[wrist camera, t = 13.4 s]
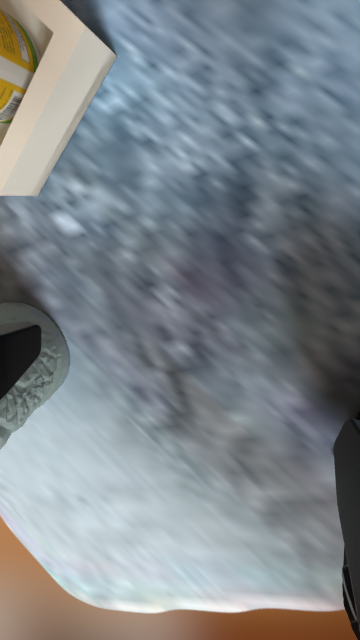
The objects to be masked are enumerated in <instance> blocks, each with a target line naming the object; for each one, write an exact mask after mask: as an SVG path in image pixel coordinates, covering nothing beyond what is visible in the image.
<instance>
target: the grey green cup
mask: <svg viewBox="0 0 360 640" xmlns="http://www.w3.org/2000/svg"><path fill="white" fill-rule="evenodd" d="M26 321H27V322H32V323H35V324H38V325H40V327H41V330H42V336H41V352H40V355H39V356H38V358H37V359H36V360H35V361H34V363H33V364H32V365H31V366H30V367H29V369H28V370H27V371H26V372H25V373H24V374H23V376H22V377H21V378H20V379H19V380H18V382H17V383H16V384H15V385H14V386H13V388H12V389H11V390H10V391H9V392H8V393H7V394H6V395H5V396H4V397H3V398H2V399H1V400H0V449H1V448H2V447H3V446H4V445H5V444H6V442H7V440H8V438H9V436H10V435H11V433H12V432H14V431H16V430H17V429H19V428H20V427H22V426H23V424H24V423H25V421H26V420H27V418H28V417H29V416H30V415H31V414H32V413H33V411H34V410H35V409H37V408H38V407H40V406H41V405H43V404H44V403H45V402H46V401H47V400H48V399H49V398H50V397H51V396H52V395H53V394H54V393H55V392H56V390H57V389H58V388H59V387H60V386H61V385H62V384H63V382H64V380H65V379H66V377H67V374H68V371H69V366H70V355H69V349H68V346H67V343H66V340H65V338H64V336H63V334H62V333H61V331H60V329H59V328H58V327H57V325H56V324H55V323H54V322H53V321H52V320H51V319H50V318H49V317H48V316H47V315H46V314H44V313H43V312H42V311H40V310H38V309H37V308H35V307H33V306H30V305H28V304H25V303H19V302H6V303H2V304H0V324H9V323H17V322H26Z"/></svg>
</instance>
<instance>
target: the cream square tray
mask: <svg viewBox="0 0 360 640" xmlns="http://www.w3.org/2000/svg"><path fill="white" fill-rule="evenodd" d="M0 8H1V9H2V10H3V11H5V12H6V13H7V14H9V15H10V16H12V17H13V18H14V19H15V20H17V21H18V22H19V23H20V24H21V25H22V26H23V27H24V28H25V29H26V30H27V31H28V33H29V34H30V35H31V37H32V39H33V40H34V42H35V44H36V46H37V49H38V51H39V54H40V58H41V61H40V64H39V66H38V68H37V70H36V72H35V74H34V76H33V78H32V80H31V83H30V85H29V87H28V89H27V91H26V93H25V95H24V97H23V99H22V102H21V104H20V106H19V108H18V110H17V112H16V114H15V116H14V119H13V121H12V123H11V124H3V123H0V196H38V194H39V193H40V191H41V189H42V187H43V185H44V184H45V182H46V180H47V178H48V177H49V175H50V173H51V171H52V170H53V168H54V166H55V164H56V163H57V161H58V159H59V157H60V156H61V154H62V152H63V150H64V149H65V147H66V145H67V143H68V142H69V140H70V138H71V136H72V135H73V133H74V131H75V129H76V128H77V126H78V124H79V122H80V121H81V119H82V117H83V115H84V114H85V112H86V110H87V108H88V107H89V105H90V103H91V101H92V100H93V98H94V96H95V94H96V93H97V91H98V89H99V87H100V86H101V84H102V82H103V80H104V78H105V77H106V75H107V73H108V71H109V70H110V68H111V66H112V64H113V63H114V61H115V59H116V57H117V56H116V55H115V54H114V53H113V52H112V51H111V50H110V49H109V48H108V47H107V46H106V45H105V44H104V43H103V42H102V41H101V40H100V39H99V38H98V37H97V36H96V35H95V34H94V33H93V32H92V31H91V30H90V29H89V28H88V27H87V26H86V25H85V24H84V23H83V22H82V21H81V20H80V19H79V18H78V17H77V16H76V15H75V14H74V13H73V12H72V11H71V10H70V9H69V8H68V7H67V6H66V5H65V4H64V3H63V2H62V1H61V0H0Z"/></svg>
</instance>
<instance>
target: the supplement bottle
mask: <svg viewBox="0 0 360 640" xmlns="http://www.w3.org/2000/svg"><path fill="white" fill-rule="evenodd" d="M40 61H41V58H40V54H39V51H38V49H37V46H36V44H35V42H34V40H33V39H32V37H31V35H30V34H29V33H28V31H27V30H26V29H25V28H24V27H23V26H22V25H21V24H20V23H19V22H18V21H17V20H15V19H14V18H13V17H12V16H10V15H9V14H7V13H6V12H5V11H3V10H2V9H1V8H0V123H3V124H11V123H12V121H13V119H14V116H15V114H16V112H17V110H18V108H19V106H20V104H21V102H22V99H23V97H24V95H25V93H26V91H27V89H28V87H29V85H30V83H31V80H32V78H33V76H34V74H35V72H36V70H37V68H38V66H39V64H40Z"/></svg>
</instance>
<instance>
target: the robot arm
mask: <svg viewBox="0 0 360 640" xmlns="http://www.w3.org/2000/svg"><path fill="white" fill-rule="evenodd" d="M41 336H42V330H41V327H40V325H38V324H35V323H32V322H27V321H26V322H17V323H9V324H0V400H1V399H2V398H3V397H4V396H5V395H6V394H7V393H8V392H9V391H10V390H11V389H12V388H13V386H14V385H15V384H16V383H17V382H18V380H19V379H20V378H21V377H22V376H23V374H24V373H25V372H26V371H27V370H28V369H29V367H30V366H31V365H32V364H33V363H34V361H35V360H36V359H37V358H38V356H39V355H40V352H41ZM334 461H335V477H336V493H337V505H338V511H339V517H340V523H341V528H342V534H343V539H344V565H343V568H342V578H343V585H342V587H343V598H344V607H345V610H346V612H347V614H348V617H349V620H350V622H351V626H352V629H353V631H354V633H355V635H356V637H357V638H358V640H360V413H359V415H358V416H357V418H356V419H353V418H349V419H347V420H346V421H345V423H344V425H343V427H342V429H341V431H340V433H339V435H338V437H337V439H336V441H335V444H334Z"/></svg>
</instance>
